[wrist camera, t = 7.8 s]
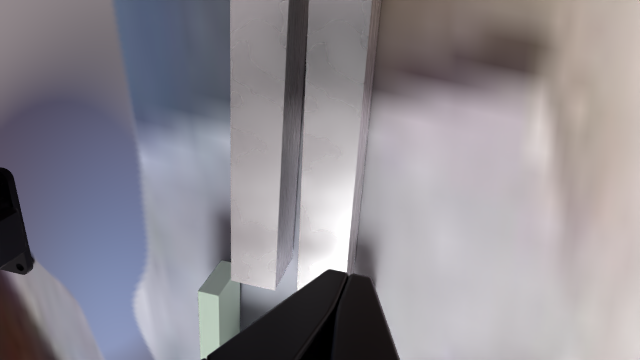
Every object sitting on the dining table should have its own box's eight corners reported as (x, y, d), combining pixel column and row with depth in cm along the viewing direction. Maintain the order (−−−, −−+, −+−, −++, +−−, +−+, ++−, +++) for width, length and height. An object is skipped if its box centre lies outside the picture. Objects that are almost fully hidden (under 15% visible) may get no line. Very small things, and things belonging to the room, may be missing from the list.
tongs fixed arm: (252, 250, 23) (231, 280, 20) (260, -169, 16) (229, -191, 13) (292, 258, 22) (275, 290, 20) (319, -167, 15) (297, -189, 13)
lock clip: (222, 350, 26) (201, 386, 24) (221, 260, 23) (197, 291, 21) (360, 385, 25) (351, 427, 22) (375, 293, 22) (367, 330, 20)
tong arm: (301, 261, 22) (283, 297, 20) (325, -288, 14) (299, -343, 12) (364, 272, 22) (353, 312, 19) (428, -293, 13) (424, -351, 11)
